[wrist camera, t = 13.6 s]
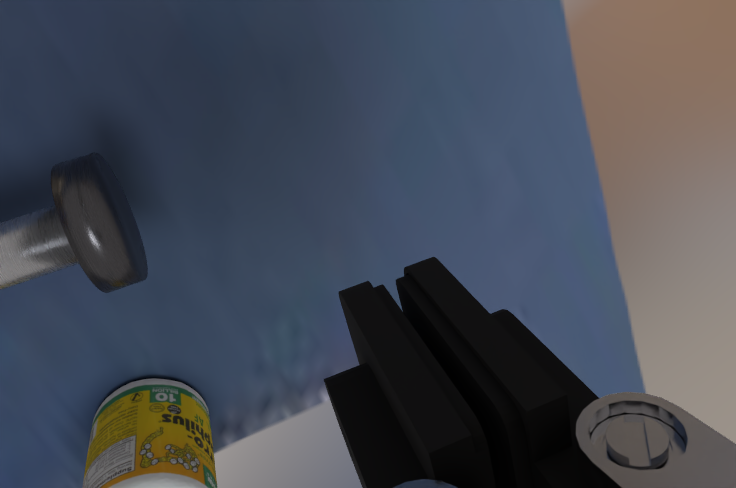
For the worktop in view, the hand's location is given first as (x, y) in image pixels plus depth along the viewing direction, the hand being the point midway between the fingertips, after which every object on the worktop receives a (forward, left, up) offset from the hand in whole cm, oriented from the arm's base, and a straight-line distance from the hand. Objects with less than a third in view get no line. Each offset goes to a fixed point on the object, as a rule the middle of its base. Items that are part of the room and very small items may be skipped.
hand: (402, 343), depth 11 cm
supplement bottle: (+12, -10, -17) cm, 23 cm away
